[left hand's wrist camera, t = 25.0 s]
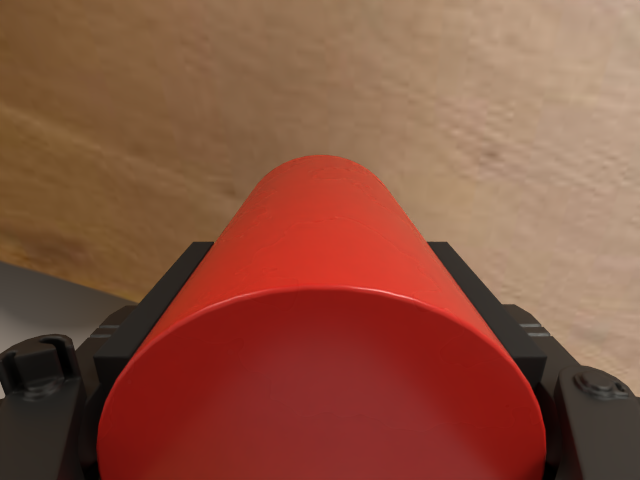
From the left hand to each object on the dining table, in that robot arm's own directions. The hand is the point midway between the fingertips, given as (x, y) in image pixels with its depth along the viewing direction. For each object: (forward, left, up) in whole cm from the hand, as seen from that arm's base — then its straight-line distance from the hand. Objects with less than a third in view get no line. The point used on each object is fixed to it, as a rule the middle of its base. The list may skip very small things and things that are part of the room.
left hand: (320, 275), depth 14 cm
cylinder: (0, 0, -5) cm, 5 cm away
